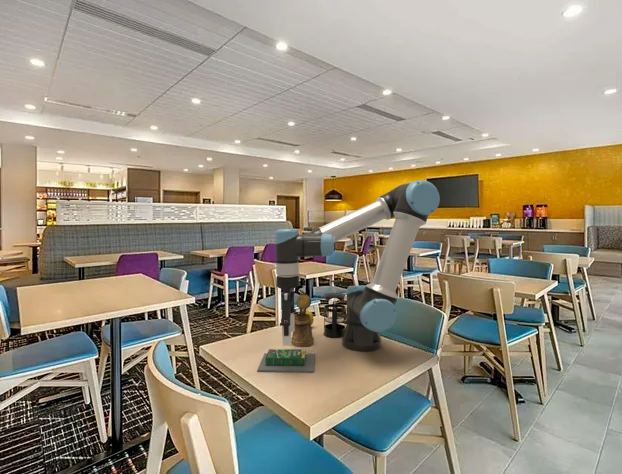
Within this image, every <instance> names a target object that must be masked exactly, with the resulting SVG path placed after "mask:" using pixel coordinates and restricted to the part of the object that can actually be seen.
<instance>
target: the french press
mask: <svg viewBox="0 0 622 474" xmlns="http://www.w3.org/2000/svg"><path fill="white" fill-rule="evenodd" d="M329 282H330V283H333V286H334V287H333V288H334V290H333V291H334V292H329V293H325V294H324V295H323V296H324V297H325V298H324V299H325V300H324V301H326V302H329V301H330V300H332V299H333V300H334V302H333V303H329V304H325V305H324V306H323V308H324V309H323V336H324V337H327V338H330V339H340V338H341V339H342V337H343V334H344V331H345V328H346V325H345V324H343V323H345V321H346V318H345V317H340V316H338V313H343V312H346V305H344V304H341V303H340V304H339V303H336V300H338V301H340V302H345V298H346V297H347V295H346V294H344V293H341V292H336V286H337V283H341V281H340V280H336V279H334V280H329ZM326 312H328V313H331V316H328V317H326ZM326 323H327V324H326Z"/></svg>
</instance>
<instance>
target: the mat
mask: <svg viewBox="0 0 622 474" xmlns="http://www.w3.org/2000/svg"><path fill="white" fill-rule="evenodd" d="M267 353H268V352H264V353H263V356H262V358H261V361H260V363H259V365H258V367H257V371H256V372H257V373H298V374H299V373H303V374H305V373H308V374H309V373H311V374H314V373H315V356H316V355H315V353H306V357H305V366H291V365H265V358H266V355H267Z"/></svg>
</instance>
